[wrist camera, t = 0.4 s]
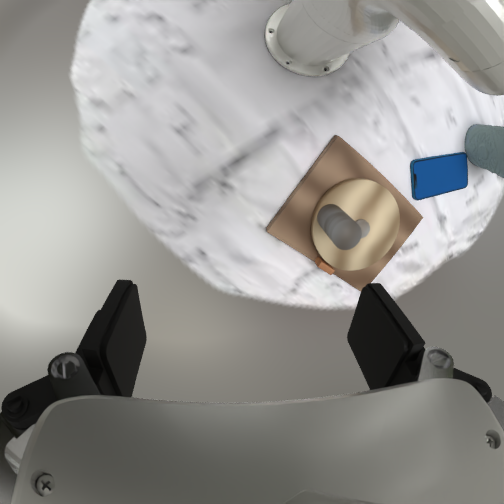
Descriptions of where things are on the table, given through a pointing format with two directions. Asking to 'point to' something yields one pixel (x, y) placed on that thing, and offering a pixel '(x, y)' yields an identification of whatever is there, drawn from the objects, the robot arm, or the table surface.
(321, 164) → the board
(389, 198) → the dial
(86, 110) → the table surface
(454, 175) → the smartphone
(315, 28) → the robot arm
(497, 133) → the grey-green cup
